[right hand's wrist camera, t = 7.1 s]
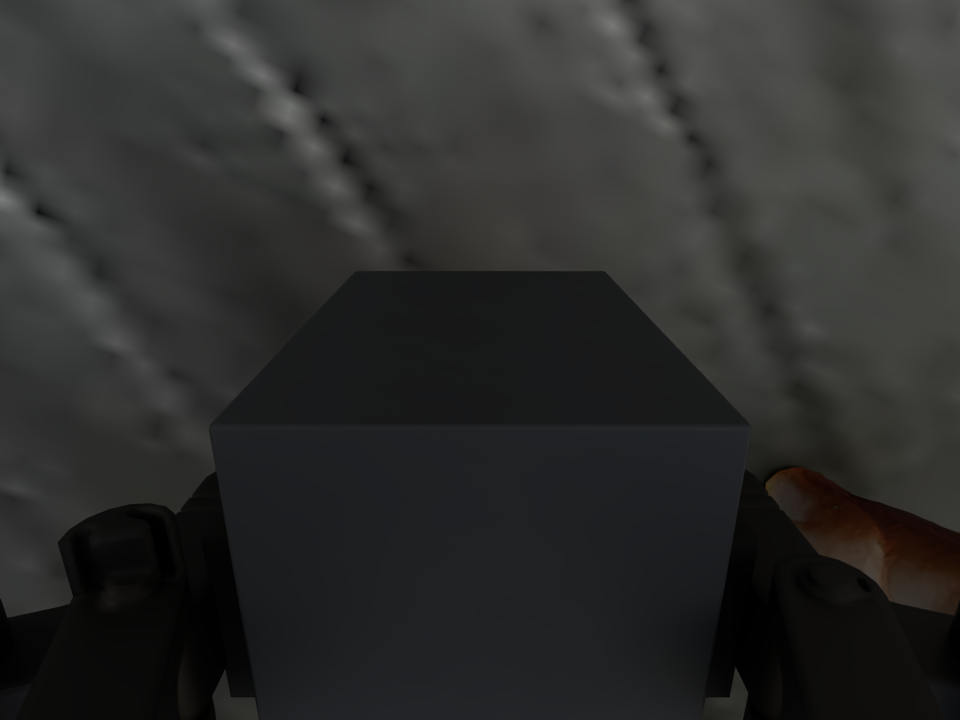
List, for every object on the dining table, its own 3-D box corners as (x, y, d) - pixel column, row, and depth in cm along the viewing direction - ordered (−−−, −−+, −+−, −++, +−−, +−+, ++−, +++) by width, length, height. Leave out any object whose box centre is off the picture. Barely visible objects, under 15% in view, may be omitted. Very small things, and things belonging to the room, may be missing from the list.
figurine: (713, 547, 28) (957, 971, 14) (793, 403, 25) (1193, 738, 11) (832, 581, 28) (1183, 1019, 14) (921, 444, 26) (1454, 810, 12)
